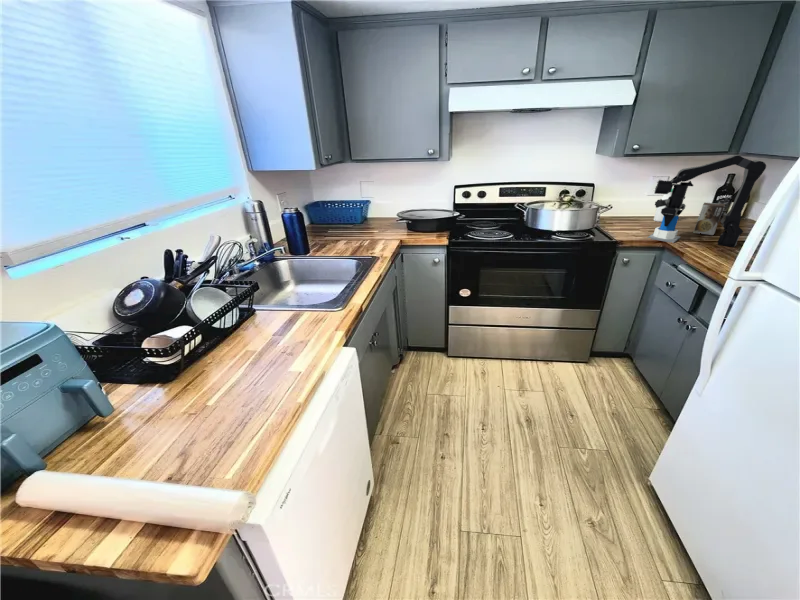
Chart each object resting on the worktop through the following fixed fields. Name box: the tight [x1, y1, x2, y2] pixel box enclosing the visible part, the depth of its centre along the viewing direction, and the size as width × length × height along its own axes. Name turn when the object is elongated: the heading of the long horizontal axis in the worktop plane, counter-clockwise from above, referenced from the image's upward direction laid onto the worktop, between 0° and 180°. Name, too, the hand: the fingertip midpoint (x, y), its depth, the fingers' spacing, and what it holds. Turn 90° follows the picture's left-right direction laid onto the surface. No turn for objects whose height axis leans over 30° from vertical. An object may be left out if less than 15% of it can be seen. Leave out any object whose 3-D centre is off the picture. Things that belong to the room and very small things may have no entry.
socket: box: [647, 226, 681, 244], centre depth 183 cm, size 12×12×5 cm
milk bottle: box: [653, 188, 673, 223], centre depth 213 cm, size 8×8×20 cm
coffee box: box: [693, 202, 726, 236], centre depth 188 cm, size 9×6×16 cm
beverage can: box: [659, 214, 680, 231], centre depth 181 cm, size 6×6×12 cm
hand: (668, 224), depth 181 cm, fingers open, 9 cm apart
